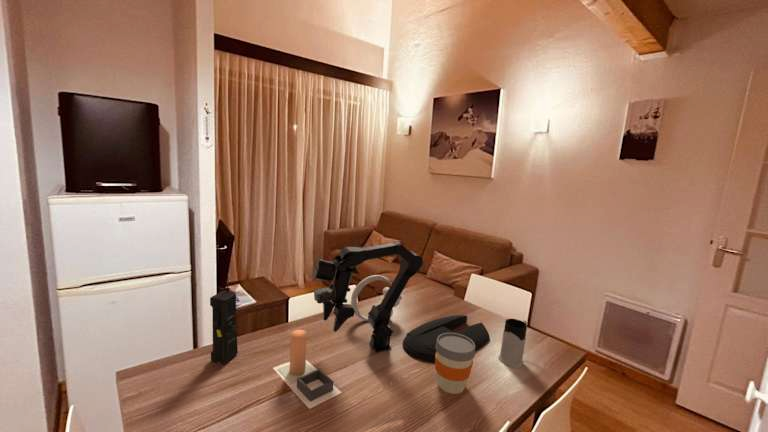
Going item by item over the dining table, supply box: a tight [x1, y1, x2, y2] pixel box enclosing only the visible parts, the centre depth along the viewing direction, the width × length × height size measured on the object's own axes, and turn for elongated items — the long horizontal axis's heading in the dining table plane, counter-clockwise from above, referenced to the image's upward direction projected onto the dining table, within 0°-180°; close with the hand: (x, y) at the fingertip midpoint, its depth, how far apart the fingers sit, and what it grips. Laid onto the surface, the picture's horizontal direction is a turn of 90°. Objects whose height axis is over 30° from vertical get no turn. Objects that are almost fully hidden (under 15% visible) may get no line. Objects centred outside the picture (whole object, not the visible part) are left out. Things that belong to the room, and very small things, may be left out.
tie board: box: [272, 359, 342, 410], centre depth 106 cm, size 23×11×4 cm, turn 43°
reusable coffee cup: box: [434, 332, 476, 395], centre depth 110 cm, size 13×13×15 cm
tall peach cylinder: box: [289, 329, 308, 376], centre depth 109 cm, size 5×5×13 cm
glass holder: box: [498, 318, 528, 368], centre depth 129 cm, size 9×14×15 cm, turn 135°
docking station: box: [402, 314, 491, 363], centre depth 139 cm, size 25×41×5 cm, turn 131°
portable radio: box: [209, 284, 239, 365], centre depth 114 cm, size 8×6×25 cm
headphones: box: [350, 274, 403, 322], centre depth 149 cm, size 21×9×22 cm
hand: (329, 325), depth 120 cm, fingers open, 9 cm apart
